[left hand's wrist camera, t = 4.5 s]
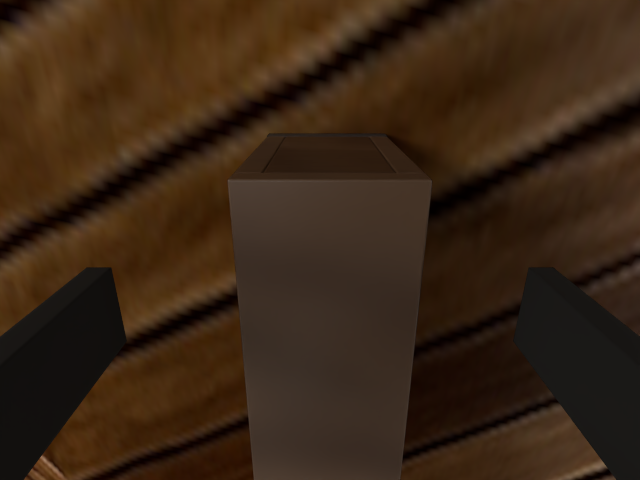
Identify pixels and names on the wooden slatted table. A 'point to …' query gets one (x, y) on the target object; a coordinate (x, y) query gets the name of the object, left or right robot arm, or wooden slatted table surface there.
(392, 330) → the cabinet
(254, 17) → the wooden slatted table surface
